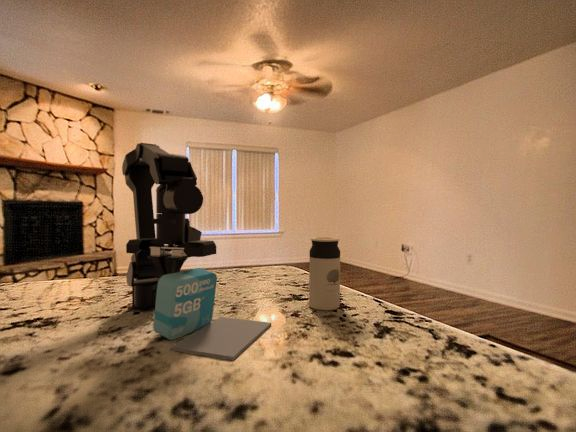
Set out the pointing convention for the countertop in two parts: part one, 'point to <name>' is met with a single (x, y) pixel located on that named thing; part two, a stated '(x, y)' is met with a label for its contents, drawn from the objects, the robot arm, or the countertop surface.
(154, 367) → the countertop surface
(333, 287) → the travel mug
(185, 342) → the mat
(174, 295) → the data package
